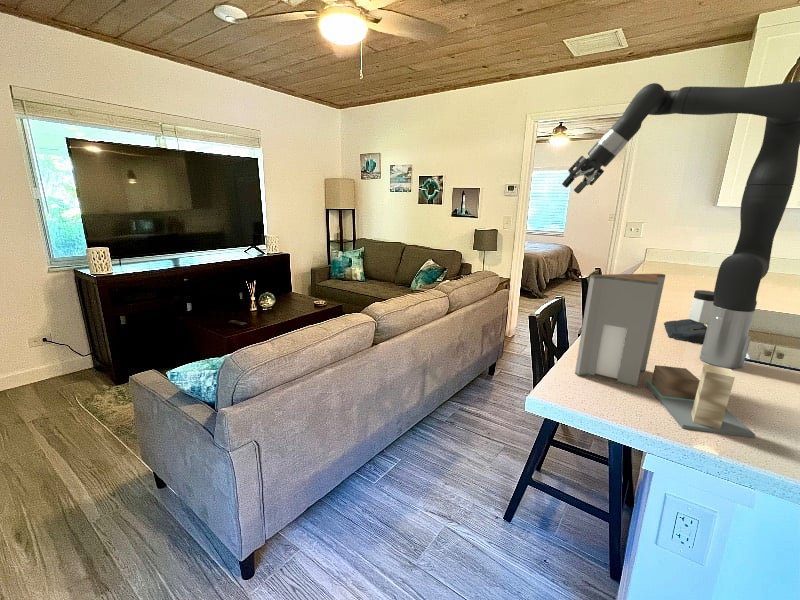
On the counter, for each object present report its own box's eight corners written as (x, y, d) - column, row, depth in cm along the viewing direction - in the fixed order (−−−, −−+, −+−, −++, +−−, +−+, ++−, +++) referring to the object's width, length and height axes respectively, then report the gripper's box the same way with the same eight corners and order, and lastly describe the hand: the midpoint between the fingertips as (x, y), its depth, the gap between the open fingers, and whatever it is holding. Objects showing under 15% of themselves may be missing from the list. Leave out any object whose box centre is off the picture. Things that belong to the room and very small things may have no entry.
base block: (681, 386, 96) (686, 368, 94) (695, 400, 89) (700, 381, 88) (651, 382, 97) (655, 365, 96) (662, 396, 91) (667, 377, 89)
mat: (701, 390, 95) (702, 387, 95) (754, 437, 76) (755, 434, 76) (645, 383, 98) (645, 381, 98) (682, 428, 79) (683, 424, 79)
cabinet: (640, 369, 107) (660, 273, 99) (669, 385, 98) (693, 281, 90) (574, 373, 103) (590, 274, 96) (598, 391, 94) (617, 283, 87)
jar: (720, 324, 148) (727, 294, 145) (703, 325, 146) (710, 295, 143) (698, 317, 157) (704, 289, 153) (682, 318, 155) (688, 290, 152)
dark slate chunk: (709, 330, 142) (712, 318, 141) (724, 349, 124) (727, 336, 123) (661, 323, 150) (664, 311, 148) (668, 340, 131) (671, 327, 130)
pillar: (717, 419, 81) (731, 369, 78) (720, 429, 78) (734, 377, 75) (691, 412, 84) (703, 363, 81) (693, 422, 80) (706, 371, 77)
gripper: (606, 147, 115) (566, 190, 124) (624, 160, 124) (586, 200, 133) (590, 134, 119) (553, 177, 128) (608, 148, 128) (572, 188, 137)
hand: (570, 189), depth 130 cm, fingers open, 8 cm apart
